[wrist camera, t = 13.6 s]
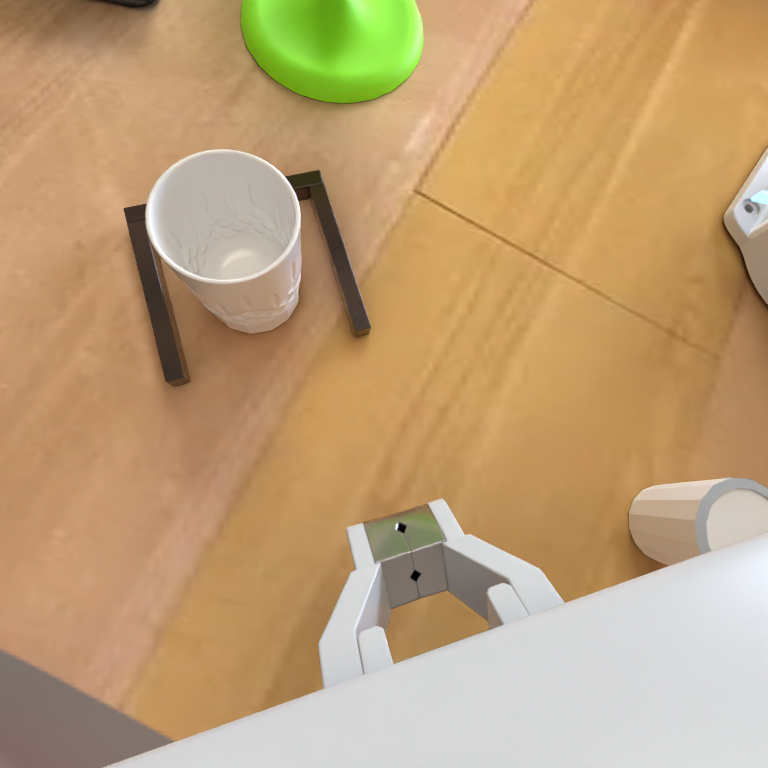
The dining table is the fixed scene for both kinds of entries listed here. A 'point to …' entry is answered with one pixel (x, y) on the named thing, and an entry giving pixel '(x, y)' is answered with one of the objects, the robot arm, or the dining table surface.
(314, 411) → the dining table surface
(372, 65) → the wineglass
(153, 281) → the walnut frame
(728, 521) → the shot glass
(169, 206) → the white cup
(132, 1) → the mobile phone
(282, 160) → the dining table surface
